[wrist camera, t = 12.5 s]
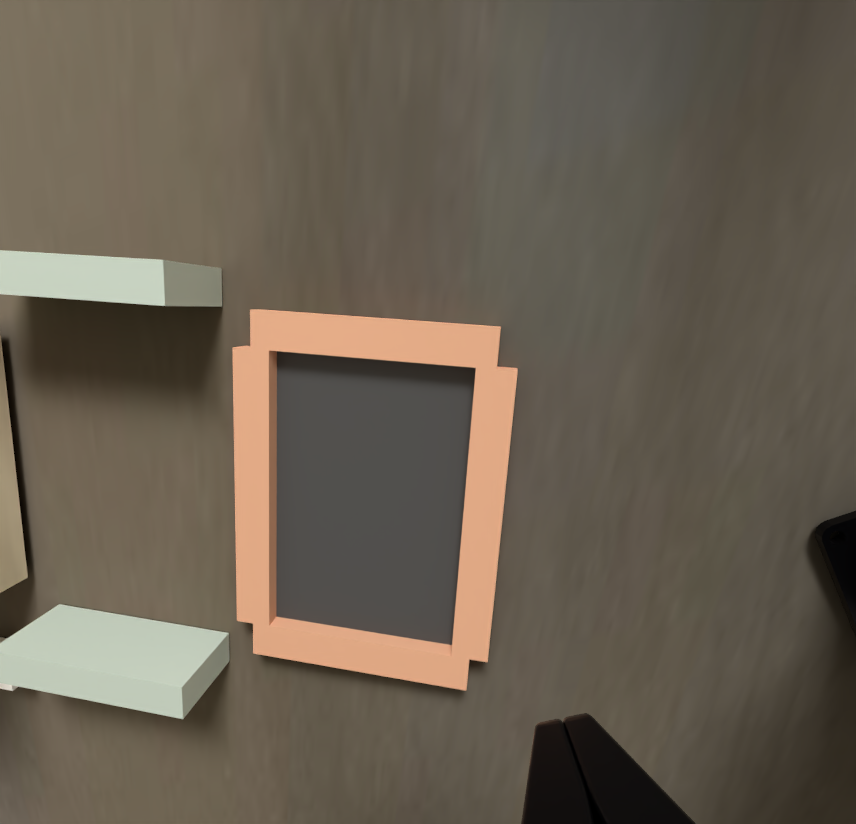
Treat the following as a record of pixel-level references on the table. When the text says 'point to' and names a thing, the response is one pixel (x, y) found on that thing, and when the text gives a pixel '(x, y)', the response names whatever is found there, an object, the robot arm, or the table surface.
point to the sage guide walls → (95, 630)
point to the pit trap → (370, 491)
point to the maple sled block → (9, 499)
